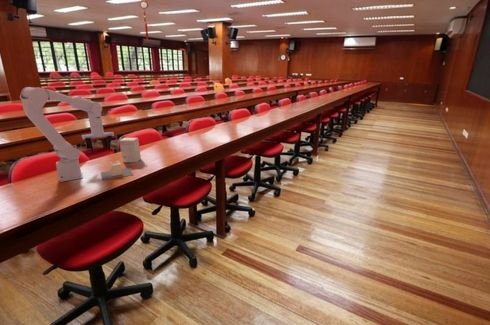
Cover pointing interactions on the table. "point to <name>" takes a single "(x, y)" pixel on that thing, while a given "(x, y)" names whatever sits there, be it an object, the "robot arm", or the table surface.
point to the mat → (108, 175)
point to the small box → (130, 149)
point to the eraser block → (116, 168)
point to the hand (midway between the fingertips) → (101, 150)
